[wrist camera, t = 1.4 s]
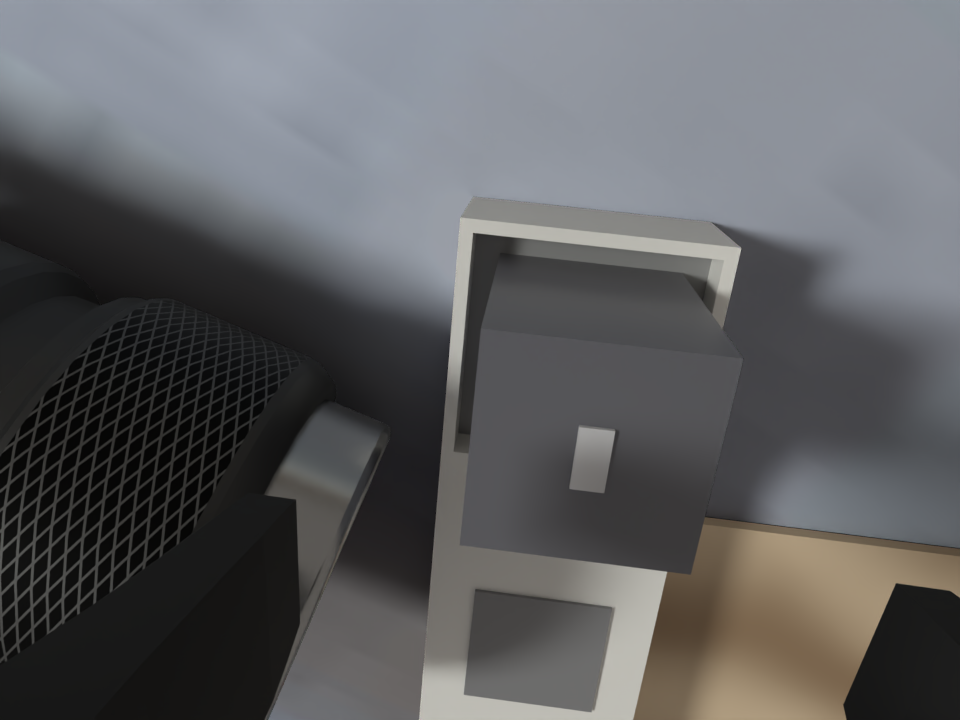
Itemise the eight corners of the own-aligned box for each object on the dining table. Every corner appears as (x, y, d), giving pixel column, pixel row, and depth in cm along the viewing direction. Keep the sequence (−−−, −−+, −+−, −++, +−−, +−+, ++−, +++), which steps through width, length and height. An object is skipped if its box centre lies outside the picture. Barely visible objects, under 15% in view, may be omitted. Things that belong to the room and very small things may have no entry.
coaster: (887, 774, 24) (892, 785, 24) (617, 737, 24) (618, 746, 24) (980, 551, 21) (988, 560, 20) (667, 512, 21) (669, 520, 21)
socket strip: (591, 787, 25) (598, 893, 22) (423, 763, 26) (405, 865, 22) (711, 222, 18) (748, 254, 15) (473, 197, 18) (457, 222, 15)
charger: (649, 434, 18) (691, 577, 13) (483, 415, 18) (459, 547, 13) (682, 272, 16) (744, 360, 11) (500, 252, 17) (480, 330, 12)
